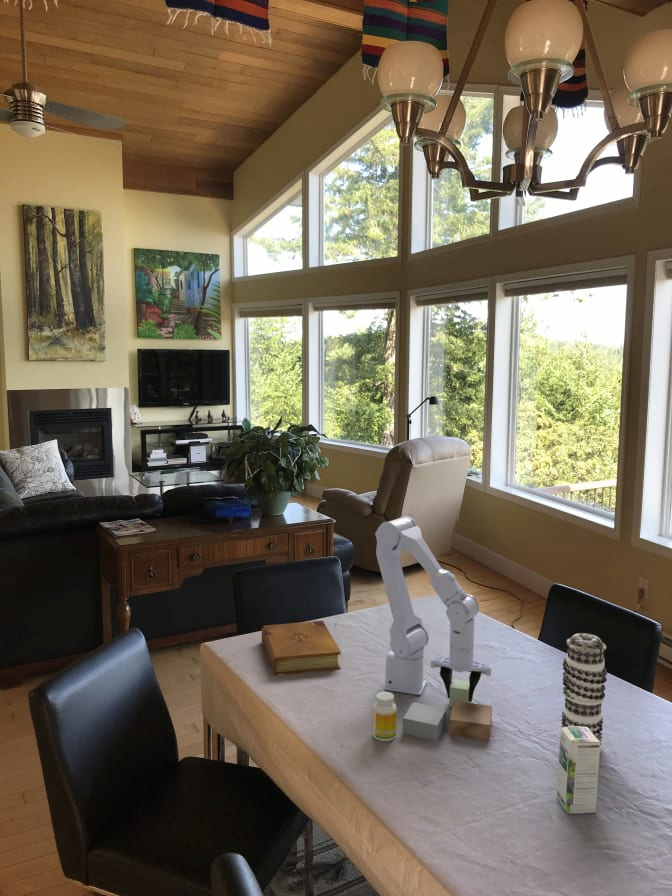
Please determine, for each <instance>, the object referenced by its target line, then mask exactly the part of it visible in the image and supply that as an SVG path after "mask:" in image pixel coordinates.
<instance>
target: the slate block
mask: <svg viewBox="0 0 672 896" xmlns="http://www.w3.org/2000/svg"><path fill="white" fill-rule="evenodd" d="M446 725H447V708H443V707H438V706H432V705H428V704H423V703H419V702H414V701H413V702H412V703H411V705H410V707H408V709H407V711H406V712H405V713H404V716H403V717H402V734H403V735H409V736H412V737H417V738H422V739H426V740H430V741H435V742H437V741H438V740H439V738H440V736H441V734H442V732H443V730H444V728H445V726H446Z"/></svg>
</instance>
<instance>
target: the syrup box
mask: <svg viewBox="0 0 672 896" xmlns="http://www.w3.org/2000/svg"><path fill="white" fill-rule="evenodd" d="M559 735H560V736H559V737H560V738H559V751H558V762H557V763H558V765H557V766H558V767H557V782H556V799H558V801H559V802H560V804H561V806H562V808H563V810H564V811H565V812H566V813H567V815H575V814H592V813H593V814H594V813H596V811H597V799H598V784H599V769H600V768H599V767H600V754H601V752H600V746H601V745H600V741H599V740H598V739H597V738H596V736H595V735H594V734H593V733H592V731H591V730H590V729H589V728H588V727H581V726H570V727H562V728H561V727H560V734H559Z"/></svg>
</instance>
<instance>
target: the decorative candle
mask: <svg viewBox="0 0 672 896" xmlns="http://www.w3.org/2000/svg"><path fill="white" fill-rule="evenodd" d="M566 644H567V653H566V657H565V658H563V662H562V670H563V672H562V675H563V676H562V677H563V678H562V685H563V688H562V690H563V691H562V693H563V696H564V704H563V711H562V712H561V727H560V729H561V728H562V727H570V726H581V727H588V728H589V729H590V730H591V731H592V733H593V734H594V735H595V736H596V738H597V739H598V740H599V741H600V753H601V751H602V747H601V746H602V744H603V743H602V739H603V736H602V735H603V733H602V731H603V723H604V718H603V717H602V713H603V711H602V703H603V702H604V701H605V700H604V699H605V697H606V695H605V692H604V691H605V690H606V686H605V683H606V682H607V681H608V679H607V677H606V676H607V675H608V671H607V669H606V668H605V660H606V659H605V650H606V649H607V645H606V644H605V643H604V642H603V641H602V639H601V638H600V637H599V636H597V635H596V634H595V635H594V634H592V633H585V632H579V633H575V634H573V635H572V636H571V637H569V638H567V639H566Z"/></svg>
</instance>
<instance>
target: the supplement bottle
mask: <svg viewBox="0 0 672 896" xmlns="http://www.w3.org/2000/svg"><path fill="white" fill-rule="evenodd" d="M397 709H398V708H397V705H396V703H395V695H394V694H393V693H392V692H389V691H379V692H378V693H376V695H375V702H374V704H373V705H372V731H371V732H372V736H373V738H374V739H375V740H377V741H381V742H390V741H392V740H394V739H395V738H396V736H397V718H398V717H397V713H398V712H397Z"/></svg>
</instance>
